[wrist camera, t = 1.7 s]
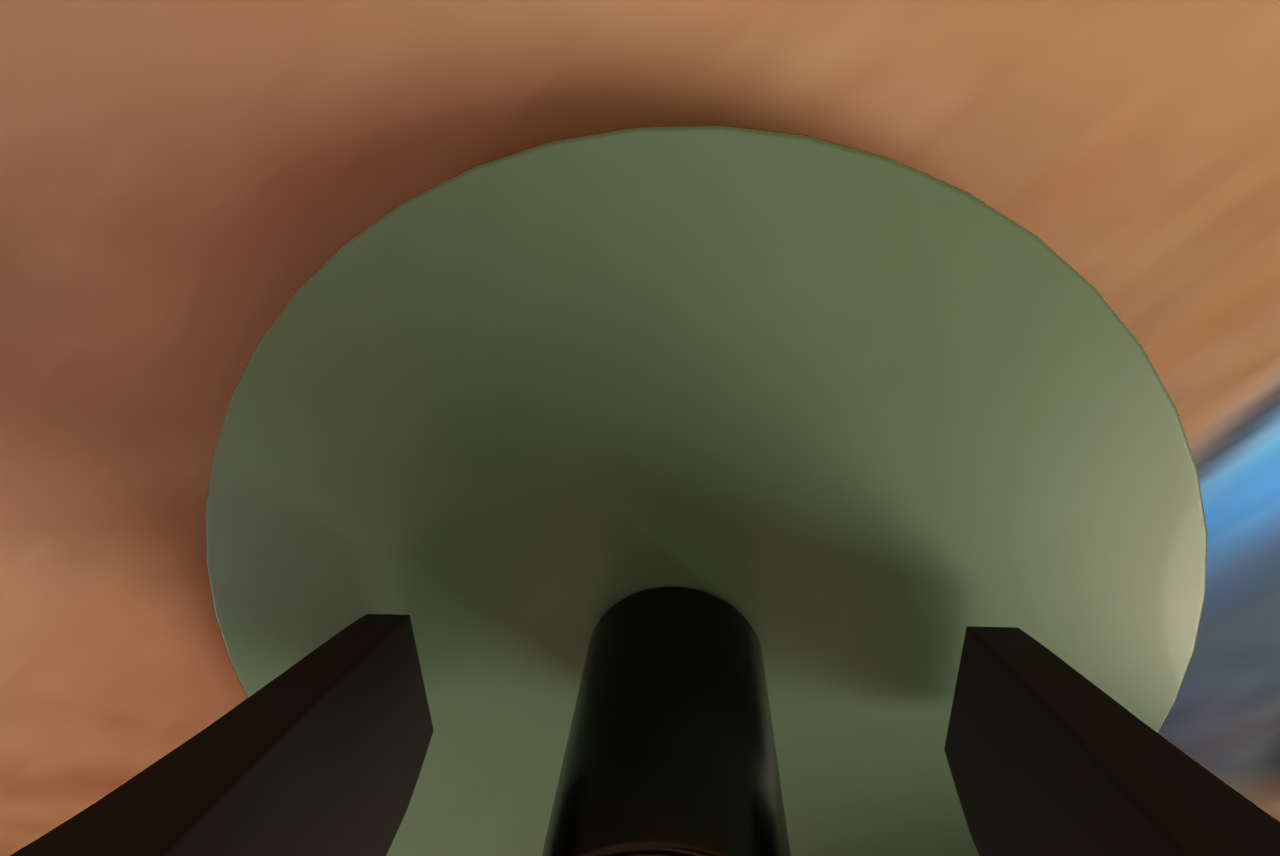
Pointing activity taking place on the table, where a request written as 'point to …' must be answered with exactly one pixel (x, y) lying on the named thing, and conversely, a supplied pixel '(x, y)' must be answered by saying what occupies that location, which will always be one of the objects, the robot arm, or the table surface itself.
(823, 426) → the lid
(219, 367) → the table surface
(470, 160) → the table surface
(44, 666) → the table surface
